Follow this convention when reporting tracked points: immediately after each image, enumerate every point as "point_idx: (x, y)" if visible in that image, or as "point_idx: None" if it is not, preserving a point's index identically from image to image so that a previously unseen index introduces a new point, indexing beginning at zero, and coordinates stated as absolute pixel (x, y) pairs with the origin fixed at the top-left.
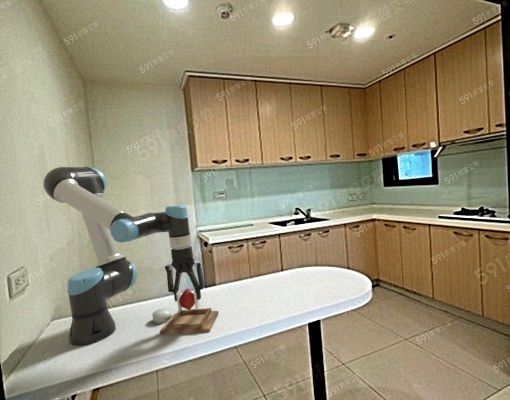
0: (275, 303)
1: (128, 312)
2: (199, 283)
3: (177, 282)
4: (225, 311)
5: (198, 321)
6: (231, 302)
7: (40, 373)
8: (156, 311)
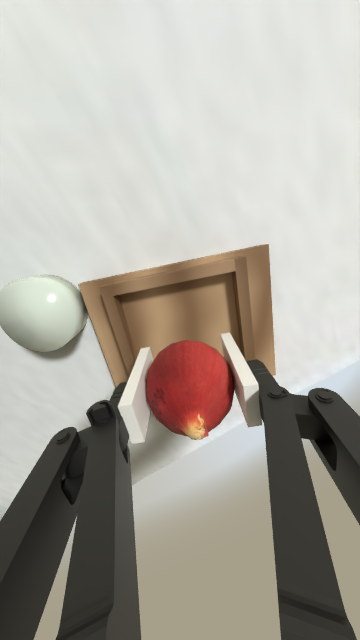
0: None
1: None
2: (336, 477)
3: (131, 536)
4: (288, 219)
5: (219, 338)
6: (298, 95)
7: None
8: (5, 314)
